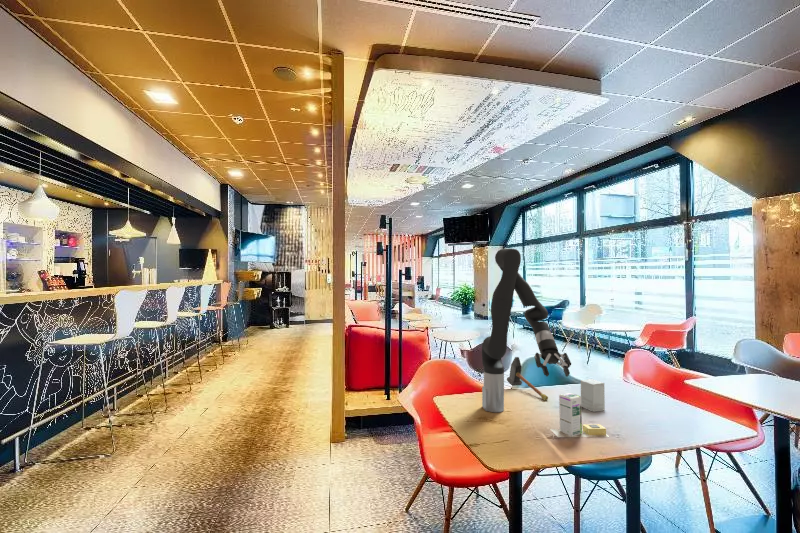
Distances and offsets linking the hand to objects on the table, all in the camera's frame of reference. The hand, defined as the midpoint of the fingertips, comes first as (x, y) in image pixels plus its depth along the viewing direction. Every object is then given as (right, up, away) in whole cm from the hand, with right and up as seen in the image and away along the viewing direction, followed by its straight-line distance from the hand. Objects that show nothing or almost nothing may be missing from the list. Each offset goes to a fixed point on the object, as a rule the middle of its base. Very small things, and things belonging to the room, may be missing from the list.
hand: (557, 375), depth 153 cm
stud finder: (+9, -19, -11) cm, 24 cm away
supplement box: (+24, -21, +18) cm, 37 cm away
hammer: (+2, -22, +43) cm, 48 cm away
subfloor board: (+3, -20, -11) cm, 23 cm away
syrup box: (0, -19, -11) cm, 22 cm away
